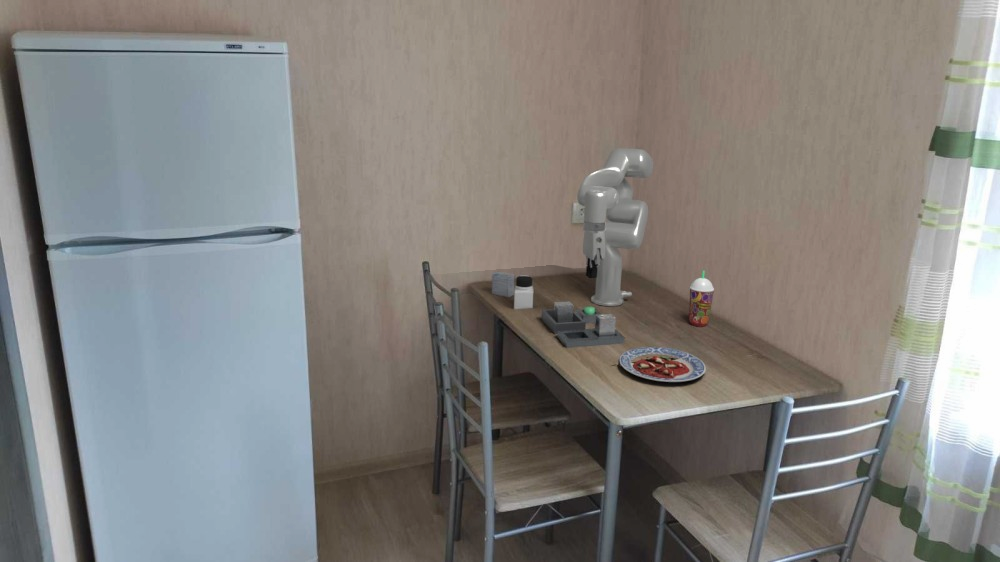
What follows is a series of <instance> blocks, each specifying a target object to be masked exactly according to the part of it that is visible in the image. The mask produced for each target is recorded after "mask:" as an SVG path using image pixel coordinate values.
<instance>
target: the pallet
mask: <svg viewBox="0 0 1000 562" xmlns="http://www.w3.org/2000/svg"><path fill="white" fill-rule="evenodd" d="M556 337H557V338H558V340H559V341H560V342H561V343H562V344H563V345H564V347H565V348H567V349H569V348H570V349H571V348H583V347H595V346H596V347H597V346H606V345H607V346H608V345H620V344H621V345H622V344H625V339H626V337H624V335H623V334H621V333H620V332H619V331H618V330H617V329H616V328H615V336H604V337H597V336H596V335H595V327H594V328H585V329H579V330H565V331H557V334H556Z"/></svg>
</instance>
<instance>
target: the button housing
mask: <svg viewBox="0 0 1000 562" xmlns="http://www.w3.org/2000/svg"><path fill="white" fill-rule="evenodd" d="M584 309H585V308H579V309H576V313H577V314H578V315H579V316H580V317H581V318H582V319H583V320H584V321H585V322H586V325H587V324H588V325H589V324H590V325H591V324H595V321H596V315H601V314H602V313H601V312H600V311H599V310H598V309H597V308H595V312H594V314H585V313H584Z"/></svg>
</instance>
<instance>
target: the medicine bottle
mask: <svg viewBox="0 0 1000 562" xmlns="http://www.w3.org/2000/svg"><path fill="white" fill-rule="evenodd" d="M515 279H516V280H515V285H514V295H513V297H514V298H513V309H514V310H521V309H523V310H524V309H533V308H534V297H535V296H534V294H535V293H534V286H533V278H532V276H529V275H518V276H517V277H516V278H515Z"/></svg>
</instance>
